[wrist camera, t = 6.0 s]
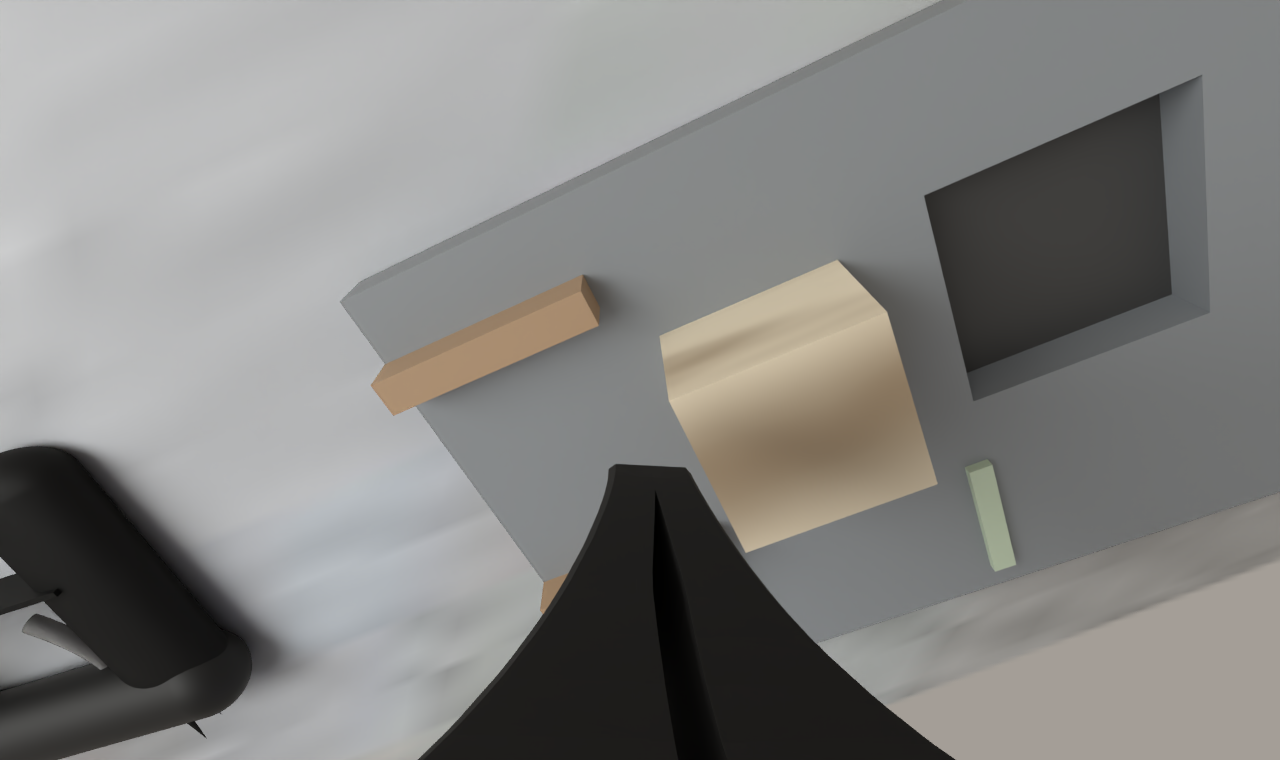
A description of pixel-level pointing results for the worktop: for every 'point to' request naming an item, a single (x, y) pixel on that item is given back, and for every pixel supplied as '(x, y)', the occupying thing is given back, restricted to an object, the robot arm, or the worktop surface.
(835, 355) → the birch block
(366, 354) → the worktop surface
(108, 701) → the door handle
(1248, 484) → the slate board
